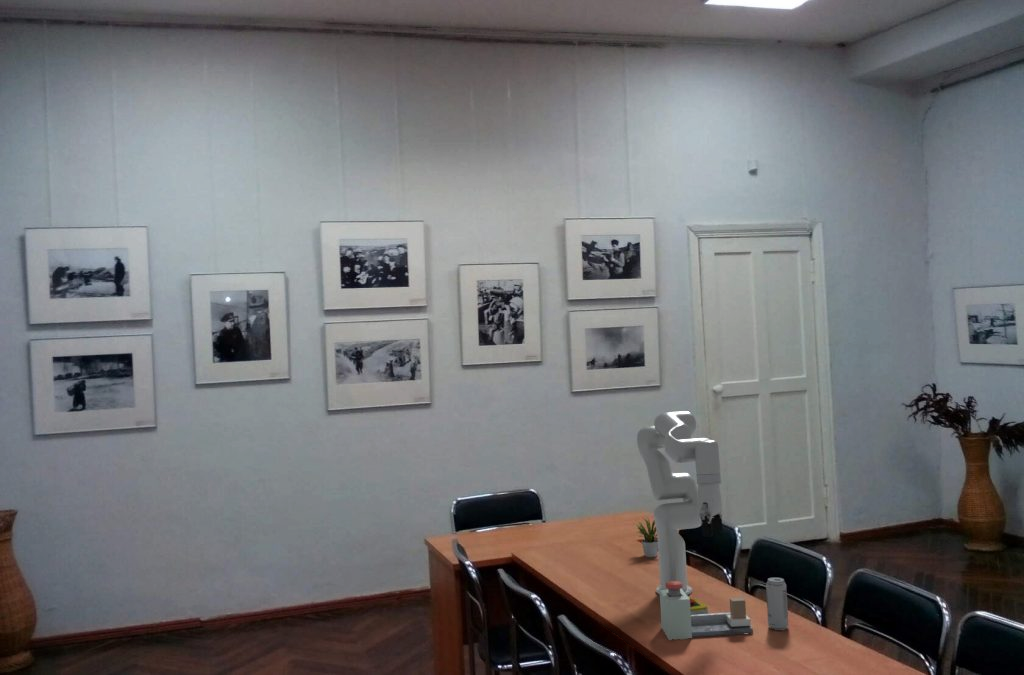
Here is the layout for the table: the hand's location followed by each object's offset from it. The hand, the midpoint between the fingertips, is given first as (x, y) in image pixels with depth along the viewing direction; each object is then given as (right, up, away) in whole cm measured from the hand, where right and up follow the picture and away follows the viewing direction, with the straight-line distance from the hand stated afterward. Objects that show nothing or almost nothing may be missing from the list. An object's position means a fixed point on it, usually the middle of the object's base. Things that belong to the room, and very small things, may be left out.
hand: (712, 533), depth 276 cm
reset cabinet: (-13, -29, -8) cm, 33 cm away
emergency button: (-5, -30, +13) cm, 33 cm away
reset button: (-13, -20, -8) cm, 25 cm away
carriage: (+6, -26, -7) cm, 28 cm away
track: (0, -29, -7) cm, 29 cm away
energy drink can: (+19, -28, -8) cm, 34 cm away
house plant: (-5, -29, +87) cm, 92 cm away
